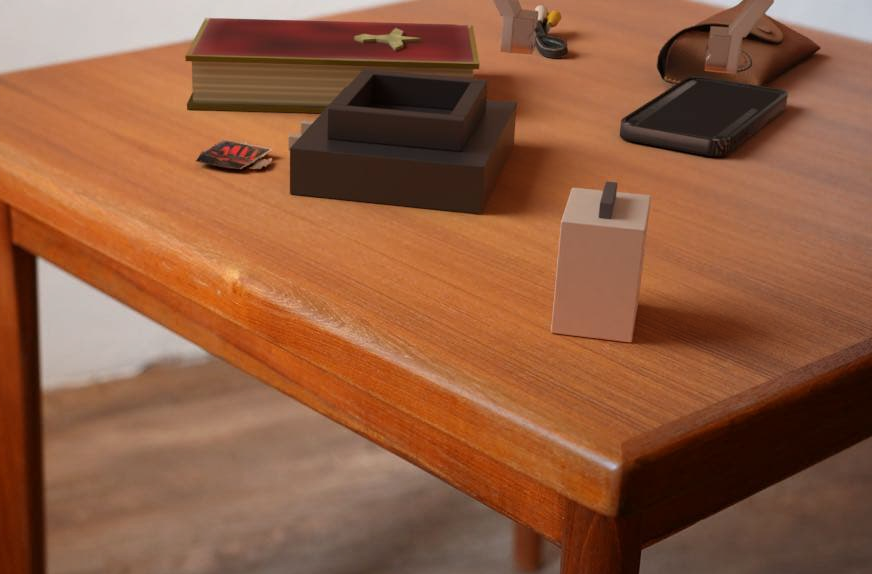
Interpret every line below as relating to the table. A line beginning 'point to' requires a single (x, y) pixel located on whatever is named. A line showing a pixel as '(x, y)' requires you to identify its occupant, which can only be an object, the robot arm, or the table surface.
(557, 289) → the block
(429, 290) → the table surface
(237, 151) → the matchbox
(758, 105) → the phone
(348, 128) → the stepped square holder
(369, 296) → the table surface
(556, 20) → the composite cable
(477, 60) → the hardcover book
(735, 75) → the sunglasses case
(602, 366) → the table surface
